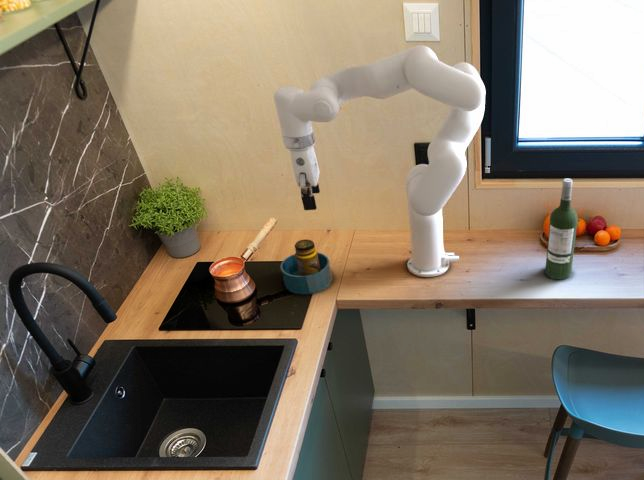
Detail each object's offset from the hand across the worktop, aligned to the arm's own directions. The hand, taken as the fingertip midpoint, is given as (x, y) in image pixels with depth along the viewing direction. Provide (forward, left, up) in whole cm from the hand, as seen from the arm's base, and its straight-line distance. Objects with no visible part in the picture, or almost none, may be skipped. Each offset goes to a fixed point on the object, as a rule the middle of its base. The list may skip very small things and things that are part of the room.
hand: (312, 201), depth 162 cm
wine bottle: (-69, +5, -24) cm, 74 cm away
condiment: (+5, +4, -23) cm, 24 cm away
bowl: (+5, +3, -24) cm, 24 cm away
